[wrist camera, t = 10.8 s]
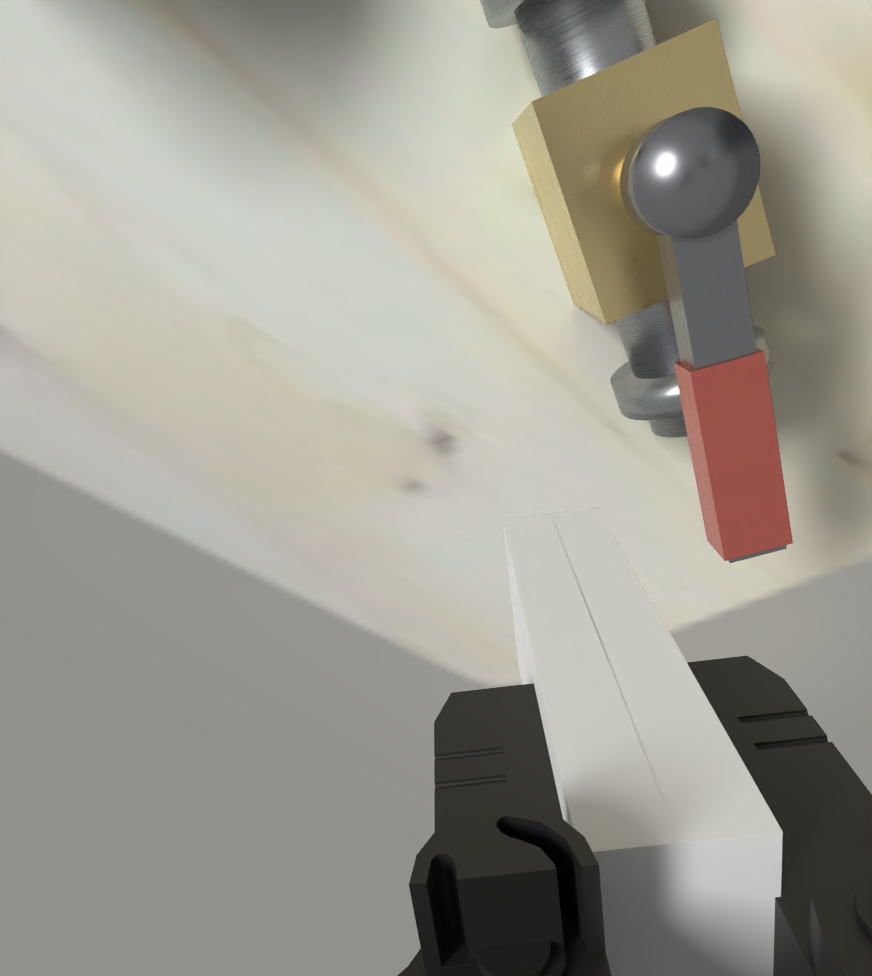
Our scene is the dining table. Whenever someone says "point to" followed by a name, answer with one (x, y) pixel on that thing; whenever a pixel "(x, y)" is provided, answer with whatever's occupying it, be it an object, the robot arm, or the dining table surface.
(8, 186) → the dining table surface
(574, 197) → the valve
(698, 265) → the lever
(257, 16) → the dining table surface
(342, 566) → the dining table surface
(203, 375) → the dining table surface
